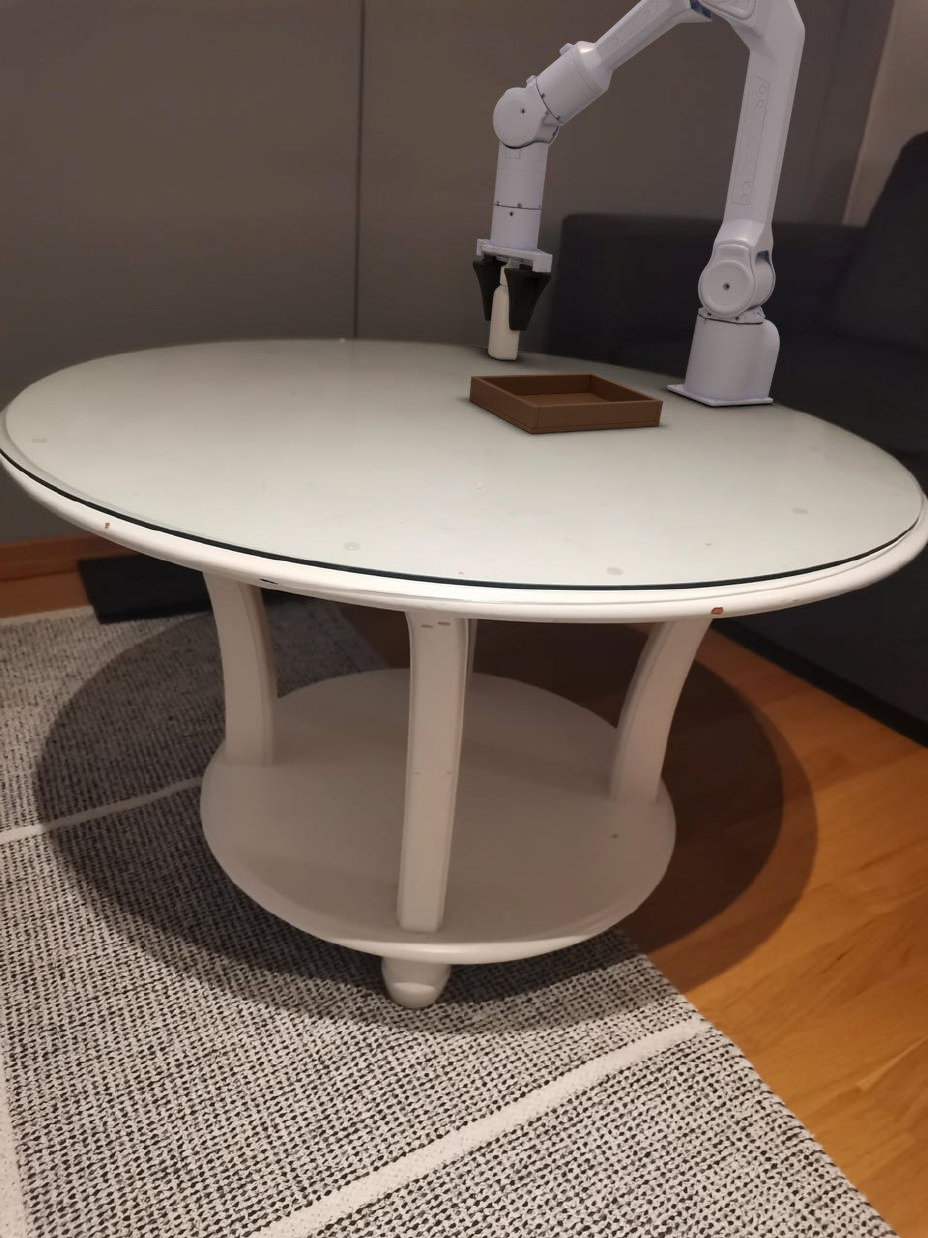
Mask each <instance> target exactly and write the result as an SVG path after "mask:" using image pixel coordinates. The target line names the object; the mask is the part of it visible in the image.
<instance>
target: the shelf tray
mask: <svg viewBox="0 0 928 1238" xmlns="http://www.w3.org/2000/svg"><path fill="white" fill-rule="evenodd" d="M468 400H469V402H470V403H473V404H475V405H477V406H478V407H480V408H481V409H484V410H486V411H488V412H490V413H491V414H494V415H495V416H497V417H499V418H500V419H503V420H505V421H507V422H508V423H510V424H511V425H514V426H516V427H518V428H520V429H521V430H523V431H525V432H527V433H529V434H532V435H533V434H535V435H536V434H548V433H564V432H580V431H581V432H582V431H597V430H613V429H628V428H629V429H630V428H643V427H644V428H645V427H658V426H660V423H661V422H660V420H661V416H662V410H663V405H664V401H663V400H661V399H659V398H656V397H654V396H652V395H649V394H647V393H644V392H641V391H639V390H636V389H634V388H631V387H630V386H629V387H628V386H626V385H624V384H621V383H619V382H616V381H614V380H612V379H610V378H606V377H604V376H602V375H599V374H596V373H594V372H577V373H575V372H574V373H573V372H572V373H542V374H539V373H538V374H507V375H506V374H505V375H503V374H502V375H477V376H476V375H473V376H471V377H470V385H469V398H468Z"/></svg>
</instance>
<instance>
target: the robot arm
mask: <svg viewBox="0 0 928 1238" xmlns="http://www.w3.org/2000/svg"><path fill="white" fill-rule="evenodd" d="M712 13H714V15H717V16H719V17H721V18H722V19H724V20H725V21H726V22H728V23H729V24H730V27H731V28H732V30H733V31H734V32H735V33H736V34H737V36H738V37H739V38H740V39H741V41H742V42H743V43H744V44H745V46H746V47H747V48H748V51H749V56H748V63H747V70H746V75H745V82H744V88H743V89H744V90H743V94H742V100H741V106H740V113H739V119H738V126H737V131H736V132H737V133H736V139H735V145H734V151H733V156H732V157H733V158H732V162H731V163H732V164H731V169H730V176H729V183H728V189H727V193H726V194H727V195H726V201H725V205H724V206H725V207H724V212H723V213H724V214H723V220H722V223H721V225H720V227H719V230H718V232H717V235H716V237H715V239H714V242H713V246H712V251H711V256H710V259H709V261H708V263H707V265H705V267H704V269H703V270H702V272H701V274H700V276H699V280H698V284H697V292H698V298H699V301H700V303H701V305H702V307H699V308H698V311H697V314H696V315H697V316H696V320H695V326H694V332H693V336H692V342H691V348H690V353H689V357H688V362H687V368H686V373H685V378H684V382H683V384H667V387H666V389H667V390H669V391H670V392H674V393H676V394H679V395H682V396H684V397H686V398H690V399H691V400H695V401H697V402H700V403H702V404H705V405H708V406H710V407H711V406H712V407H720V406H721V407H722V406H739V405H740V406H741V405H757V404H759V405H760V404H761V405H762V404H773V402H774V399H773V398H771V397H769V395H770V389H771V386H772V381H773V378H774V373H775V369H776V365H777V362H778V361H777V360H778V356H779V352H780V346H781V345H780V344H781V343H780V335H779V331H778V328H777V327H776V325H775V324H774V323H773V322H772V321H770V320H769V319H766V314H764V313H765V312H764V311H763V308H762V307H761V306H762V305H764V303H766V302H767V301H768V299H769V298H770V297H771V296H772V293H773V291H774V288H775V285H776V272H775V268H774V264H773V260H772V253H773V248H774V237H773V229H772V222H773V216H774V212H775V211H774V210H775V205H776V200H777V194H778V189H779V188H778V187H779V184H780V177H781V173H782V167H783V161H784V155H785V150H786V144H787V140H788V139H787V138H788V133H789V129H790V128H789V127H790V123H791V118H792V117H791V116H792V110H793V106H794V100H795V95H796V88H797V83H798V77H799V73H800V67H801V62H802V56H803V50H804V45H805V38H806V28H805V25H804V22H803V19H802V16H801V14H800V12H799V9H798V7H797V5H796V1H795V0H640V1H639V2H638V3H637V4H635V6H634V7H633V8H631V9H630V10H629V11H628V12H627V13H626V14H625V15H624V16H622V17H621V19H619V20H618V21H617V22H616V23H615V24H614V25H613V26H612V27H610V29H608V31H606V32H605V33H604V34H603V35H602V36H601V37H600V38H599V39H598V40H596V41H595V42H589V41H585V40H579V41H577V42H576V43H574V44H571V43H566V44H564V45H563V46H562V47H561V48H560V49H559V54H560V56H559V58H557V59H556V60H555V61H553V62H552V63H551V64H550V65H549V66H547V68H545V69H544V70H543V71H542V72H541V73H540V74H538V75H537V76H536V75H531V76H530V77H528V78H527V79H526V81H525V82H526V86H525V87H512V88H509V89H507V90H505V92H504V93H503V95H502V96H501V97H500V98H499V99H498V101H497V103H496V104H495V107H494V110H493V114H492V125H493V130H494V132H495V135H496V136H497V138H498V140H499V143H498V153H497V161H496V162H497V163H496V175H495V184H494V185H495V186H494V194H493V195H494V196H493V205H492V206H493V208H492V217H491V227H490V238H489V239H487V238H484V239H483V238H478V239H477V240H476V241H477V242H476V252H475V255H476V256H479V257H483V258H482V259H481V260H472V268H473V270H474V273H475V275H476V277H477V281H478V285H479V287H480V294H481V299H482V308H483V315H484V321H487V322H491V316H492V306H493V297H494V292H495V290H496V289H497V288H498V287H499V286H500V285H502V284H500V277H501V267H502V266H505V265H506V264H507V263H508V260H509V257H510V256H511V257H515V260H513V259H511V261H512V262H511V264H514V265H517V266H518V267H519V269H518V268H504V273H505V277H506V280H507V285H508V292H509V328H510V330H513V331H520V332H522V331H523V332H525V331H527V329H528V327H529V325H530V322H531V319H532V316H533V314H534V310H535V308H536V306H537V303H538V301H539V299H540V297H541V295H542V294H543V291H544V290H545V288H546V287H547V285H548V284H549V283H550V281H551V280H552V273H551V271H552V264H553V263H552V262H553V255H552V254H550V253H548V252H545V251H543V250H542V249H539V248H538V243H539V234H540V226H541V225H540V224H541V216H542V207H543V199H544V190H545V189H544V188H545V180H546V173H547V163H548V155H549V154H548V153H549V148H550V147H551V145H552V144H553V143H554V142H555V140H556V139H557V137H558V135H559V132H560V129H561V127H563V126H564V125H565V124H567V123H568V122H569V121H571V120H572V119H573V118H575V117H576V116H577V115H578V114H579V113H581V112H582V111H583V110H585V109H586V108H587V107H588V106H590V105H591V104H592V103H593V102H595V101H596V100H597V99H599V97H601V96H602V95H604V93H606V92H607V91H608V90H609V87H610V83H611V80H612V77H613V73H614V71H615V70H616V69H617V68H619V67H620V66H622V65H623V64H625V63H626V62H627V61H629V60H630V59H631V58H633V57H634V56H635V55H638V53H640V52H641V51H642V50H644V49H645V48H646V47H648V46H649V45H650V44H652V43H653V42H655V41H656V40H657V39H659V38H660V37H662V36H663V35H664V34H666V33H667V32H668V31H670V30H671V29H673V28H674V27H675V26H677V25H678V24H688V23H689V24H690V23H691V24H692V23H693V24H694V23H711V22H713V15H712Z"/></svg>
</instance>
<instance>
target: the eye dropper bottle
mask: <svg viewBox="0 0 928 1238" xmlns="http://www.w3.org/2000/svg"><path fill="white" fill-rule="evenodd" d="M508 257H509V260H508V263H507V264H506V265H505V266H502V267H501V277H500V284H502V285H500V286H499V287H498V288H497V289H496V290H495V292H494V297H493V306H492V316H491V321H490V327H489V336H488V346H487V347H488V348H487V353H488V355H489V356H490V357H492V358H494V359H496V360H501V361H515V360H516V359H517V358H518V350H519V341H520V332H521V331H513V330H510V328H509V292H508V285H507V280H506V277H505V273H504V268H518V269H519V266H517V265H514V264H511V262H512V261H511V259H513V260H515V257H511V256H508Z"/></svg>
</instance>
